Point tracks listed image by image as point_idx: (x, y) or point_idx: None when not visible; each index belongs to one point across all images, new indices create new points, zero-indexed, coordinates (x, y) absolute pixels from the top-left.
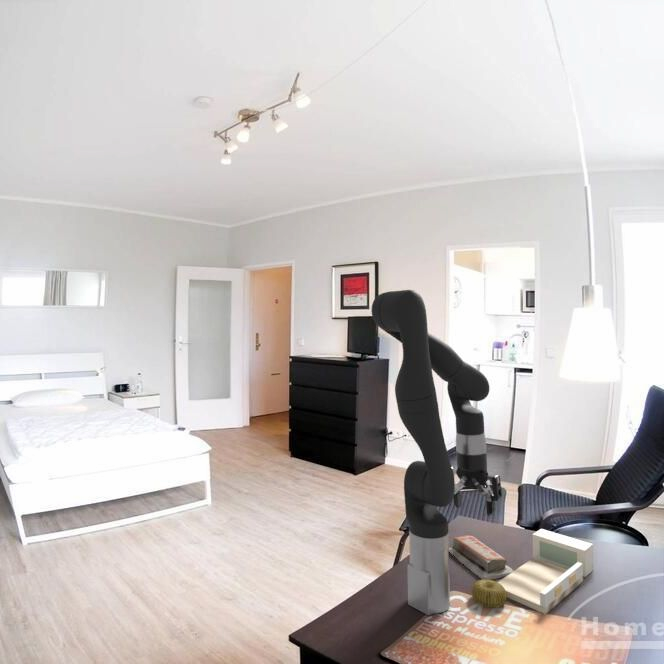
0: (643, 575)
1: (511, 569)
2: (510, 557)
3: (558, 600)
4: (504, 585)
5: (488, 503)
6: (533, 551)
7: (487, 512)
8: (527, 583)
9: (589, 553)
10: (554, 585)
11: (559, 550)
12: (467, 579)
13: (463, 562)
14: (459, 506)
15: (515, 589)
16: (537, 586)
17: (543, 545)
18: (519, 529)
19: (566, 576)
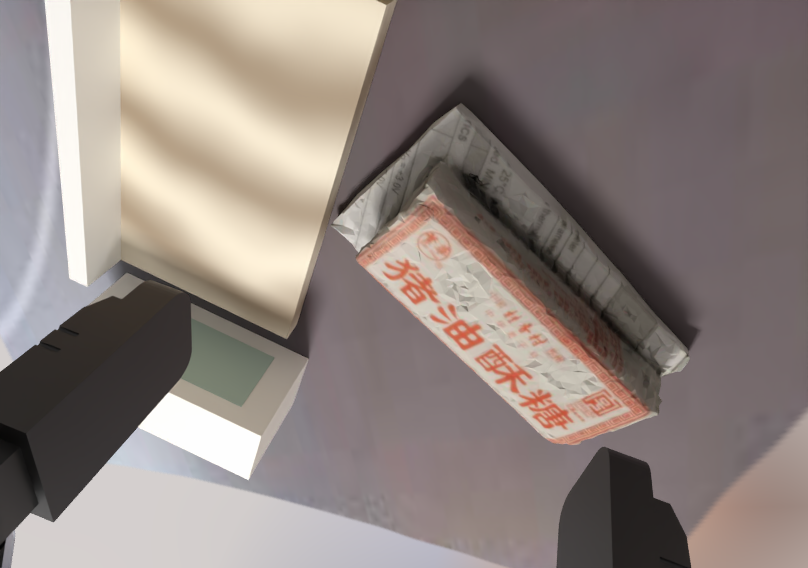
0: (19, 320)
1: (351, 238)
2: (386, 349)
3: None
4: (330, 32)
5: (10, 397)
6: (293, 377)
7: (146, 305)
8: (241, 105)
9: None
10: (52, 20)
11: None
12: (558, 81)
13: (592, 247)
14: (588, 478)
15: (270, 10)
16: (198, 94)
17: (232, 386)
18: (396, 529)
19: (59, 144)
